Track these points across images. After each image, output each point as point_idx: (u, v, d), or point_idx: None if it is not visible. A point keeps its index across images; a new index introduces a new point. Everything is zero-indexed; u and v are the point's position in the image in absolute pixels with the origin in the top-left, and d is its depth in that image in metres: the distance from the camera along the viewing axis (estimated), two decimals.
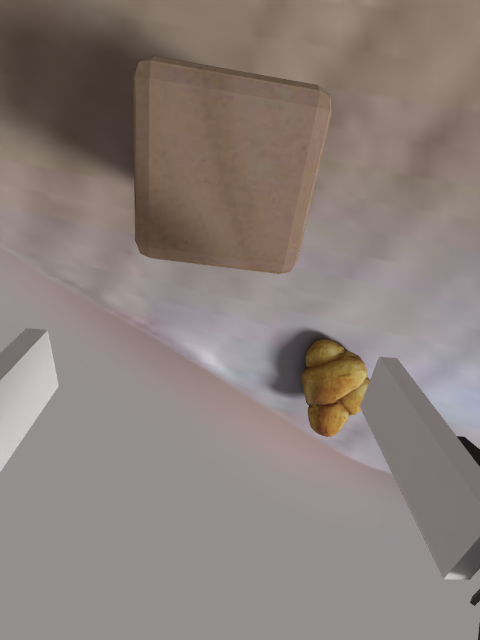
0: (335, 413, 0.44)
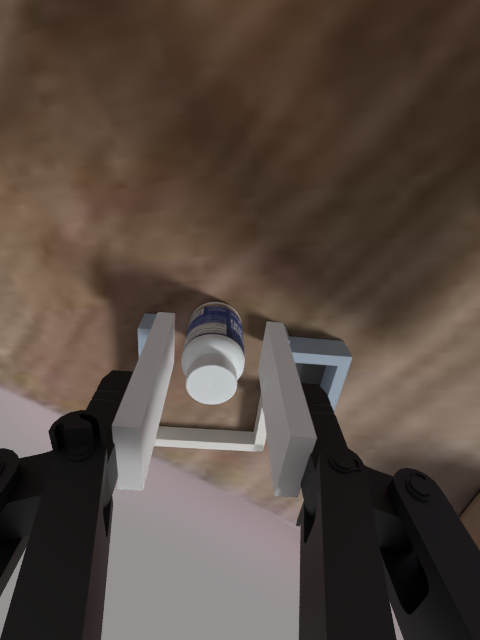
0: None
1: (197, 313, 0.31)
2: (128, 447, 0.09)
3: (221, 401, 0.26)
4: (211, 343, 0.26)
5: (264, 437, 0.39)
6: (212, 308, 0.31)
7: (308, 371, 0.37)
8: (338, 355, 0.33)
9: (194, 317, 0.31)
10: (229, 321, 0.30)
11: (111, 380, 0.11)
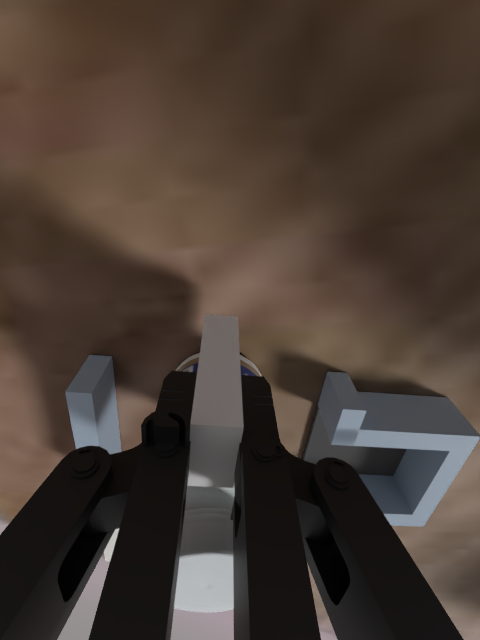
0: None
1: None
2: (202, 445, 0.09)
3: (232, 607, 0.11)
4: None
5: None
6: None
7: None
8: (455, 433, 0.17)
9: None
10: None
11: (172, 380, 0.12)
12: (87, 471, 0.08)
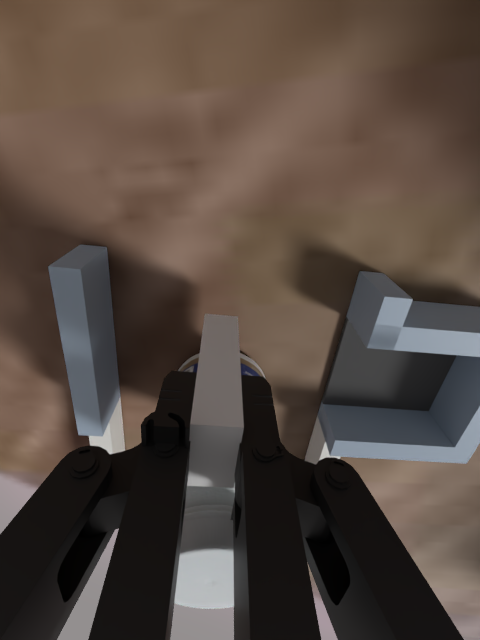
0: None
1: None
2: (202, 445, 0.09)
3: None
4: None
5: None
6: None
7: (417, 372, 0.19)
8: None
9: None
10: None
11: (172, 380, 0.12)
12: (87, 471, 0.08)
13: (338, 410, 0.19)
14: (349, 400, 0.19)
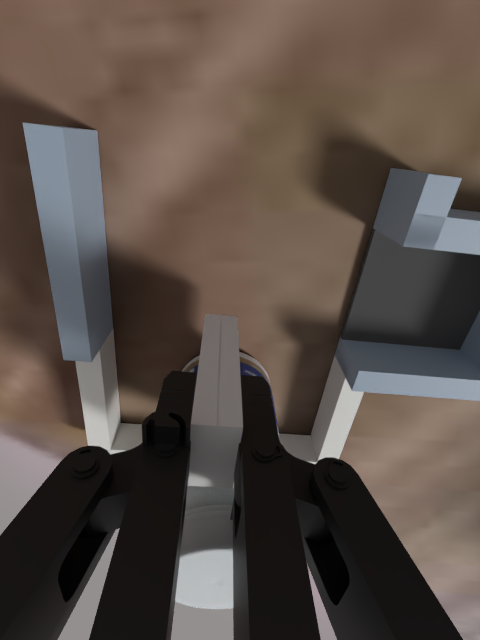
0: None
1: None
2: (202, 445, 0.09)
3: None
4: None
5: (339, 447, 0.19)
6: None
7: (449, 300, 0.16)
8: None
9: None
10: None
11: (173, 380, 0.12)
12: (87, 471, 0.08)
13: (359, 345, 0.17)
14: (371, 334, 0.17)
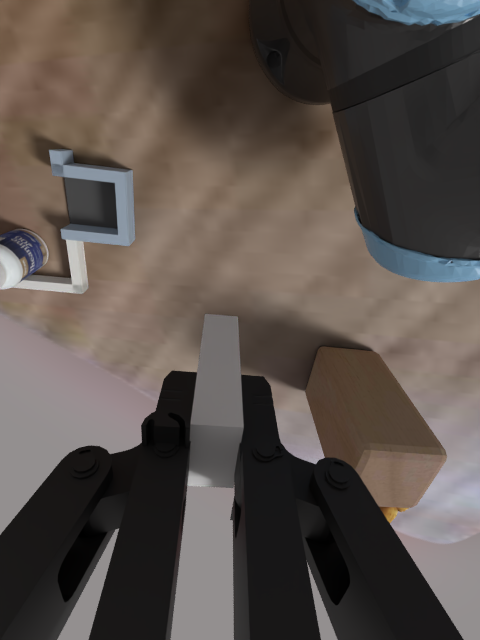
0: (391, 512, 0.62)
1: None
2: (202, 445, 0.09)
3: None
4: None
5: (79, 275, 0.42)
6: (7, 232, 0.40)
7: (108, 204, 0.40)
8: (112, 170, 0.36)
9: None
10: (13, 236, 0.38)
11: (172, 380, 0.12)
12: (87, 471, 0.08)
13: (75, 225, 0.41)
14: (82, 221, 0.41)
